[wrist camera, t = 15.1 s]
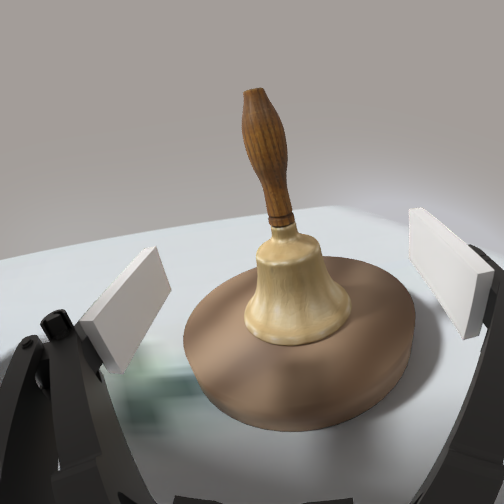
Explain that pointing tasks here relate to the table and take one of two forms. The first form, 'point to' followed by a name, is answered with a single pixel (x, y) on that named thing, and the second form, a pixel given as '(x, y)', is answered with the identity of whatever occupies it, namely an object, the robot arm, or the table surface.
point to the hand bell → (285, 247)
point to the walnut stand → (303, 353)
